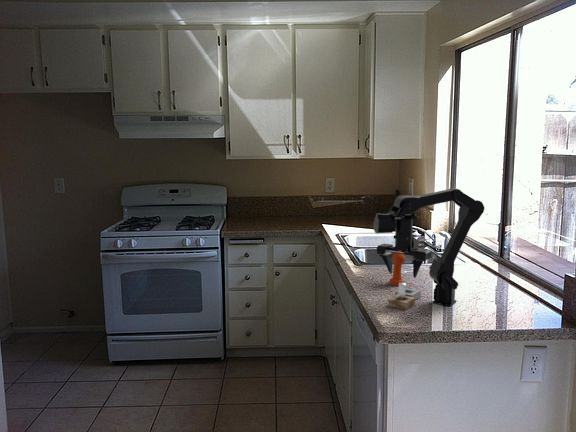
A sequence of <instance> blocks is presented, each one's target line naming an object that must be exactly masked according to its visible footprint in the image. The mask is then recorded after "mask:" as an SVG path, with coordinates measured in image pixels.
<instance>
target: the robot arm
mask: <svg viewBox="0 0 576 432" xmlns="http://www.w3.org/2000/svg"><path fill="white" fill-rule="evenodd" d="M447 202H453V203H454V204H455V205H457V207H459V208H458V213H457V215H458V216H457V217H458V219H457V222H456V224H455V226H454V227H453V230H452V233H451V235H450V237H449V239H448V241H447V244H446V245H445V248H444V250H443V252H442V254H441V256H440V257H439V258H437V259H436V258H432V257H433V256H432V251H431V249H427V248H426V249H425V248H419V246H420V240H418V239H417V238H415V235H414V234H413V223H414V222H413V220H419V216H417V215H416V212H417V211H419V210H421V209H422V208H425V207H428V206H432V205H433V206H435V205H438V204H442V203H443V204H444V203H447ZM484 211H485V205H484V203H483V202H482V201H481V200H478V199H474V198H473V197H471V196H469V195H468V194H466V193H464V192H463V191H462V190H461V189H459V188H454V187H449V189H448V188H447V189H443V190H440V191H435V192H430V193H425V194H421V195H411V194H410V195H406V194H405V195H399V196H397V197H395V200H394V202H393V205H392V206H391V208H390V209H389V210H388V211H387V213H378V212H377V213H375V217H374V221H373V225H372V226H373V232H374V233H375V234H390V233H391V234H392V233H393V232H395V234H394V235H393V239H395V240H394V244H395V245H393V244H389V243H381V244H379V245H377V246H376V248H375V253H376V254H378V255H379V257H381V258H382V260H383V262H384V263H385V266H386V268H387V270H388V273H389V274H390V275H392V274H393V260H392V257H393V254H394V253H398V254H403V255H404V256H405V255H406V256H413V257H414V259H413V260H412V265H413V266H412V268H413V269H412V276H413V278H414V279H415V278H417V275H418V273H419V271H420V268H421V266H422V265H423V263H424V262H425V261H427V260H430V259H431V258H432V262H431V265H430V266H429V267H428V269H429V271H428V272H429V273H428V274H429V276H430V278H431V279H432V280H433V283H434V284H435V285H434V288H433V298H432V299H433V301H432V303H433V304H437V305H442V306H448V307H451V306H452V305H454V304H455V303H456V302H457V300H456V290H457V289H458V287H459V282H458V281H457V280H456V279H455V278H454V277H453V275H454V272H455V261H456V259H457V258H458V255H459V253H460V250H461V248H462V246H463V244H464V242H465V240H466V237H467V235H468V234H469V231H470V230H471V227H472V226H473V225H474V224H475V223H476V222H477V221H479V219H480V218H481V216H482V215H483V213H484Z"/></svg>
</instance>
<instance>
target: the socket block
mask: <svg viewBox="0 0 576 432" xmlns="http://www.w3.org/2000/svg"><path fill="white" fill-rule="evenodd" d="M398 296H399V294H397V295H395V294H394V296H392V297H389V298H388V299H387V300H388V301H387V305H388V306H387V307H392V308H397V309H401V310H404V311H406V310H408V309H410V308H412V307H414V306H415V305H416V300H415V298H413V297H409V296H405V301H403V300H398Z"/></svg>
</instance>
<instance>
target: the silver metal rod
mask: <svg viewBox="0 0 576 432" xmlns="http://www.w3.org/2000/svg"><path fill="white" fill-rule="evenodd" d="M406 286H407V283H406V282H404V283H399V286H398V290H399V296H398V300H403V301H405V293H406V288H407V287H406Z"/></svg>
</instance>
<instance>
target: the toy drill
mask: <svg viewBox="0 0 576 432" xmlns="http://www.w3.org/2000/svg"><path fill="white" fill-rule="evenodd" d="M405 261H406V256H405V255H404V254H398V253H394V254H393V257H392V263H393V267H392V277H391V278H390V279H389V280H388V283H389V284H390V285H392V286H394V287H399V283H405V282H404V280H403V278H402V265H403V264H404V263H405Z"/></svg>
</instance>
